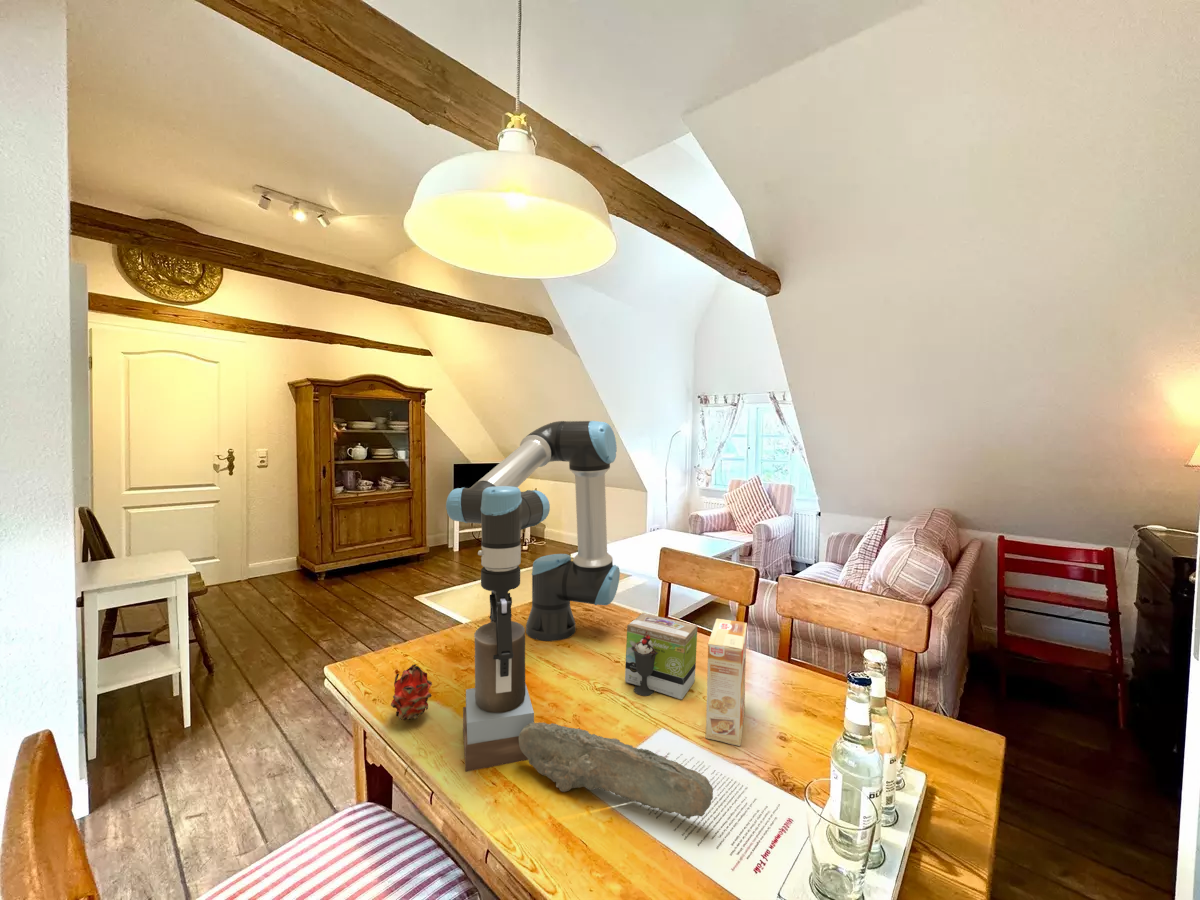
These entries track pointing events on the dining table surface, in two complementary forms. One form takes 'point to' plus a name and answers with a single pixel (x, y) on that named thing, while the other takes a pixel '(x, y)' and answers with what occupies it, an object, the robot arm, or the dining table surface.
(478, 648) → the pillar candle
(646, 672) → the sundae
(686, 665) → the tea box
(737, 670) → the coffeecake box
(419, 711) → the dragon fruit
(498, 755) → the walnut block
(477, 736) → the slate block
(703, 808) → the long grey stone
